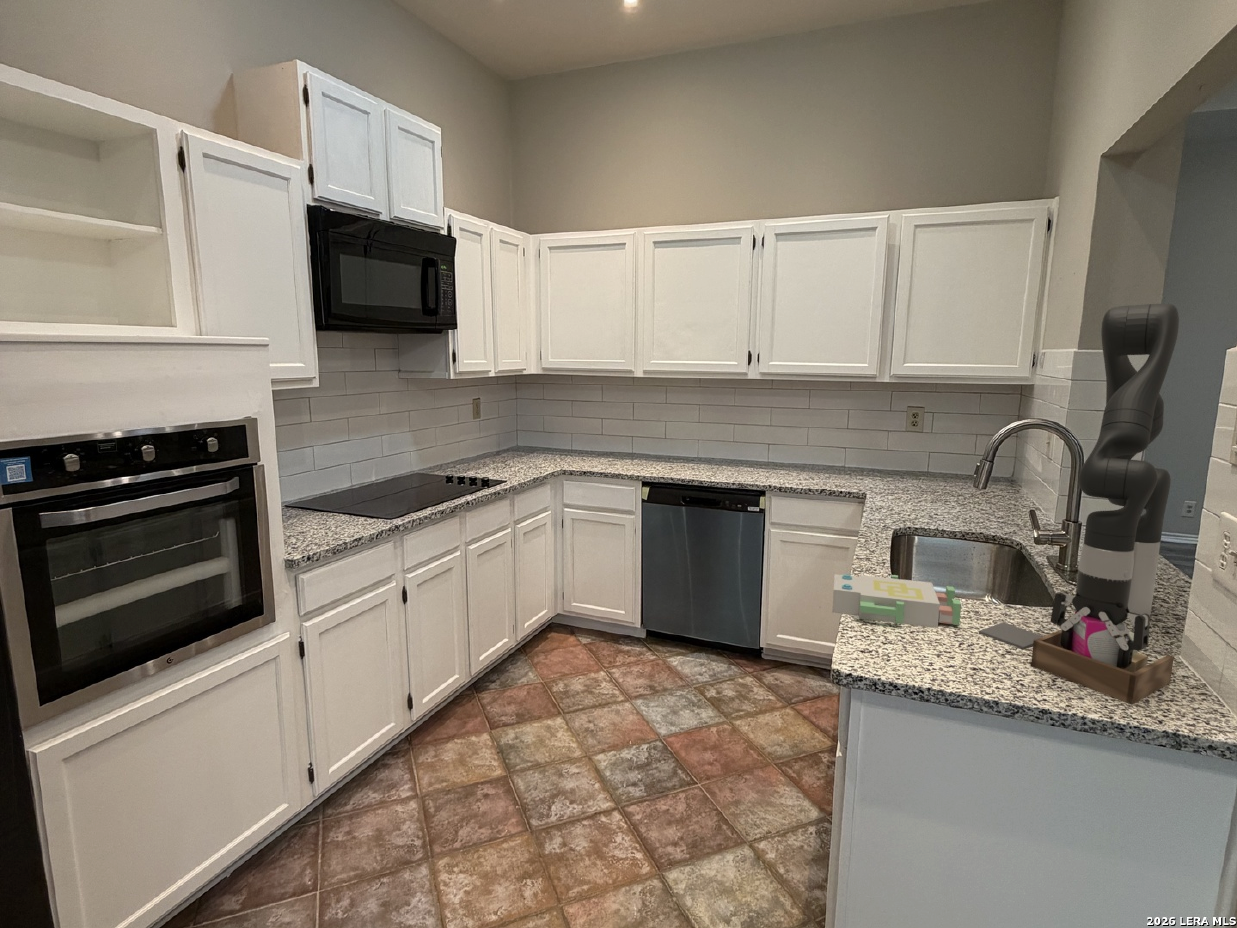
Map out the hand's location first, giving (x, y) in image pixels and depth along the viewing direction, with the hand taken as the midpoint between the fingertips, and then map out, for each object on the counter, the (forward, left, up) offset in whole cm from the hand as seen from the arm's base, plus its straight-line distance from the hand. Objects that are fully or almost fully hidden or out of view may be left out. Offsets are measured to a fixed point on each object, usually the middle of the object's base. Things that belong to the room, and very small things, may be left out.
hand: (1093, 658), depth 116 cm
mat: (-6, -17, -4) cm, 18 cm away
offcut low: (-7, 0, -4) cm, 8 cm away
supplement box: (0, 0, -4) cm, 4 cm away
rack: (-3, 0, -4) cm, 4 cm away
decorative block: (+4, -39, -4) cm, 39 cm away
